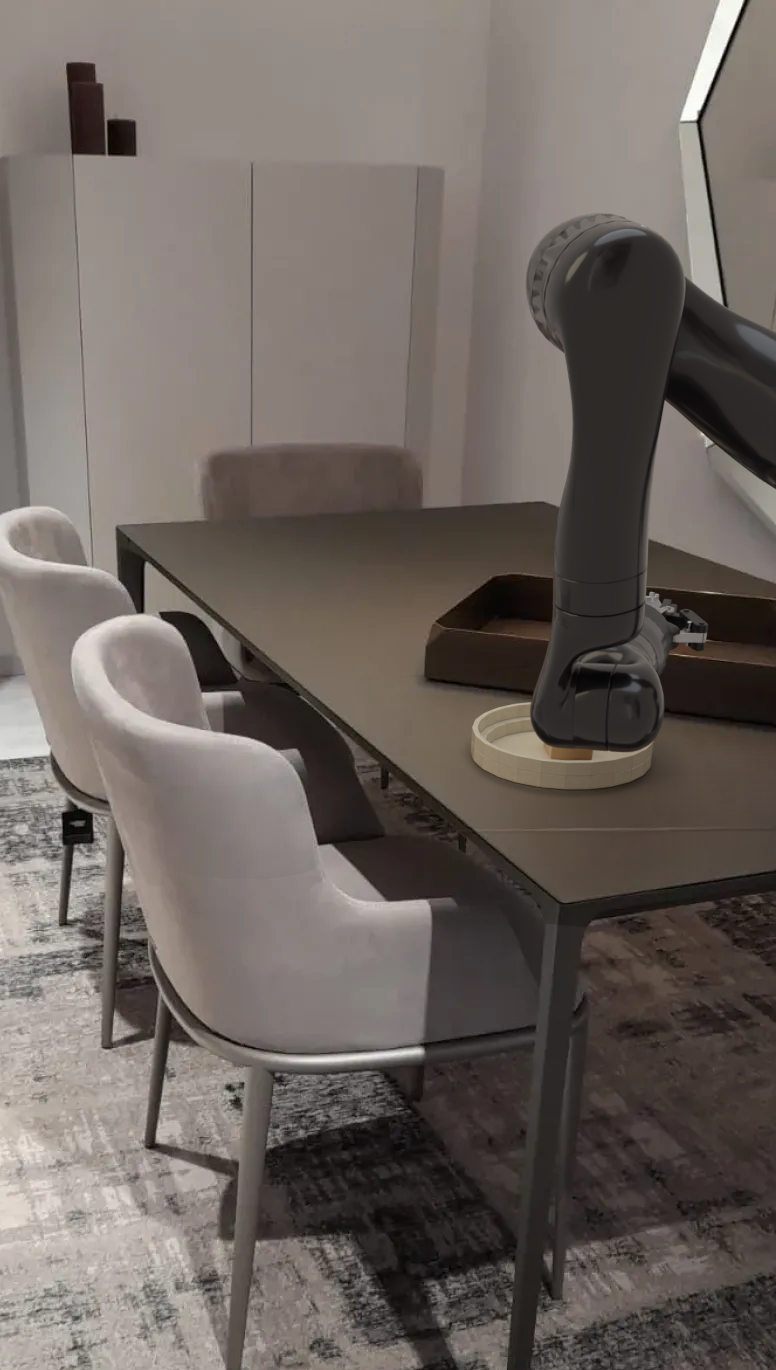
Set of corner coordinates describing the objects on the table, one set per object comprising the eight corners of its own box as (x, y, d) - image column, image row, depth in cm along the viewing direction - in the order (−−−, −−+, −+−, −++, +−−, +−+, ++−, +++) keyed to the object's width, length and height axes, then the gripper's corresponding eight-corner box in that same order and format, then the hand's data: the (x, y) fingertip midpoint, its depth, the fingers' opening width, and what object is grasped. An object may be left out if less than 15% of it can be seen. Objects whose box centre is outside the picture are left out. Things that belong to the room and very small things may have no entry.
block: (583, 745, 152) (587, 706, 150) (592, 760, 148) (596, 720, 146) (543, 745, 152) (546, 707, 150) (550, 760, 148) (554, 720, 146)
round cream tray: (627, 729, 158) (630, 700, 157) (670, 793, 141) (674, 761, 140) (461, 731, 158) (462, 702, 157) (483, 794, 141) (485, 763, 140)
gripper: (710, 618, 121) (724, 575, 135) (550, 605, 125) (580, 565, 140) (699, 700, 124) (714, 649, 139) (543, 684, 129) (573, 637, 143)
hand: (646, 607), depth 139 cm, fingers closed on rook chess piece, 3 cm apart
